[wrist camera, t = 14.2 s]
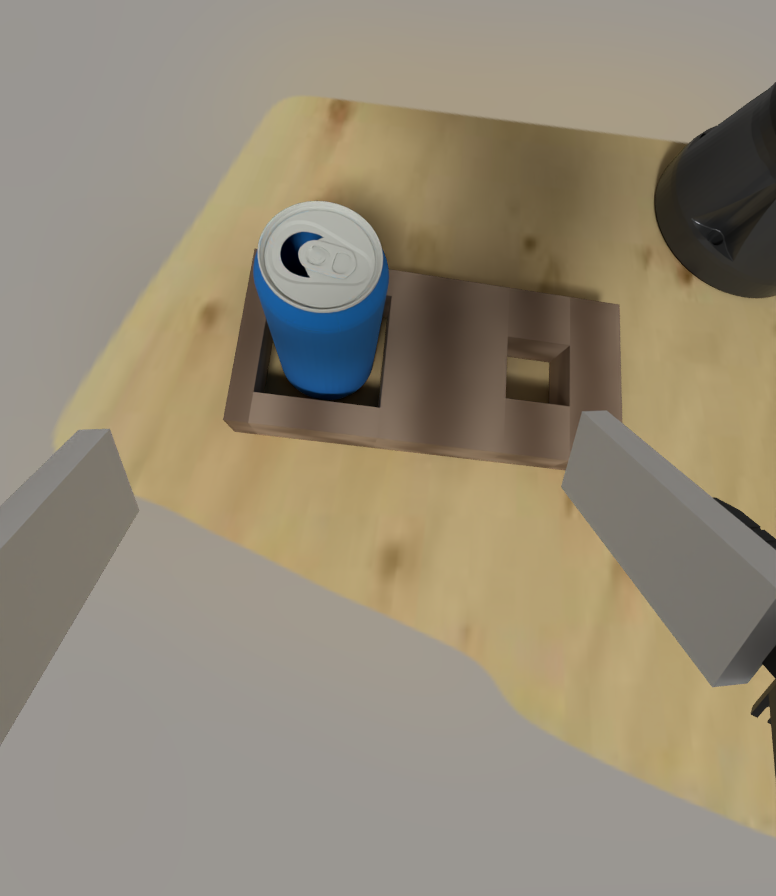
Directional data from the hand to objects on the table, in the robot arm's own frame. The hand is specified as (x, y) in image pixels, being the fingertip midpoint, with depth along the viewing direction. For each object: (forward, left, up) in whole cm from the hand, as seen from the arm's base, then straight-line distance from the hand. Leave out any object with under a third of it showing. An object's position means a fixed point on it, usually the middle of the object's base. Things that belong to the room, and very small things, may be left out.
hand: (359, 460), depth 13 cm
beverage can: (+3, -10, -17) cm, 20 cm away
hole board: (-5, -10, -17) cm, 20 cm away
